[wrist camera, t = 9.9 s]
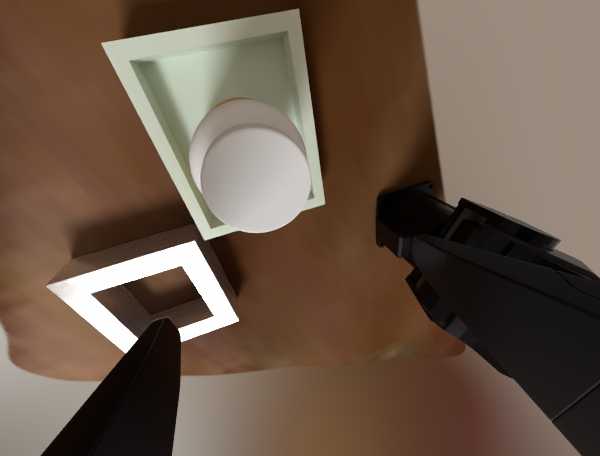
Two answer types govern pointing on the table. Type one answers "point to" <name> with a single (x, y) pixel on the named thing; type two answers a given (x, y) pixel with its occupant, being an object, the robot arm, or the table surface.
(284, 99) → the tray
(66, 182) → the table surface
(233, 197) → the supplement bottle
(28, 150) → the table surface
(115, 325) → the sleeve holder
